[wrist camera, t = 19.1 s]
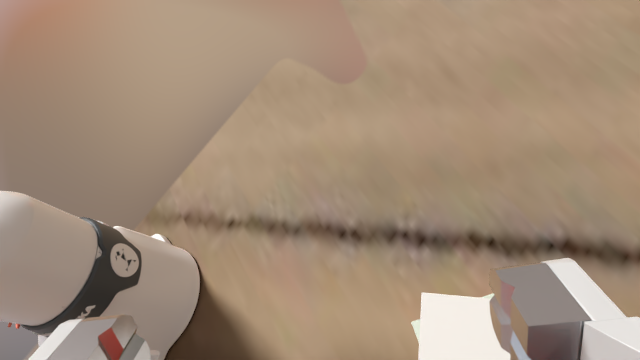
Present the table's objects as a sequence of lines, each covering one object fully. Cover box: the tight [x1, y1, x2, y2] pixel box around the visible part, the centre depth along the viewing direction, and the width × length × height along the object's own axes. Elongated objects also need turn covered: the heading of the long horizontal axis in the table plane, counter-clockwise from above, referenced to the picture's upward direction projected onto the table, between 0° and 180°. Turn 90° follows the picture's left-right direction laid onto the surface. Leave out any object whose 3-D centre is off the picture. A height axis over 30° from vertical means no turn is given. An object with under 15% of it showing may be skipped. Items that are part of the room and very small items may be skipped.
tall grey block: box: [418, 293, 510, 360], centre depth 22 cm, size 4×4×11 cm
